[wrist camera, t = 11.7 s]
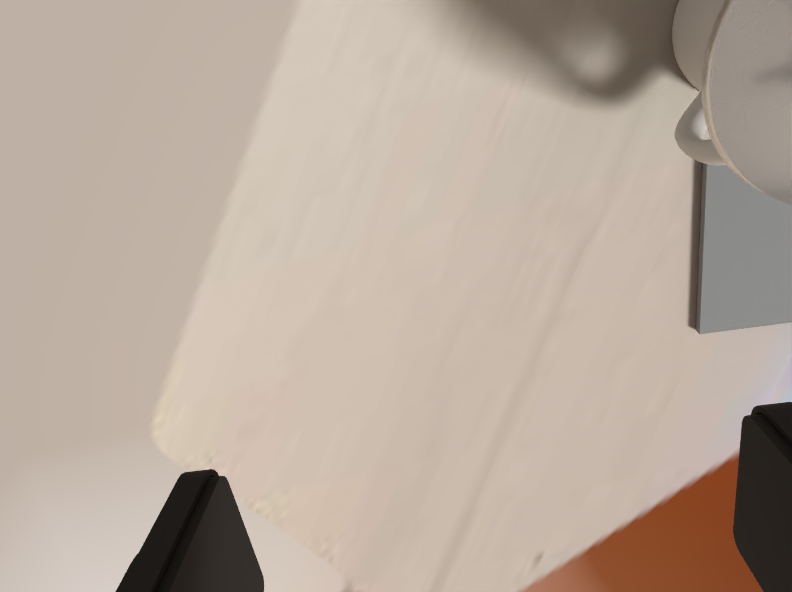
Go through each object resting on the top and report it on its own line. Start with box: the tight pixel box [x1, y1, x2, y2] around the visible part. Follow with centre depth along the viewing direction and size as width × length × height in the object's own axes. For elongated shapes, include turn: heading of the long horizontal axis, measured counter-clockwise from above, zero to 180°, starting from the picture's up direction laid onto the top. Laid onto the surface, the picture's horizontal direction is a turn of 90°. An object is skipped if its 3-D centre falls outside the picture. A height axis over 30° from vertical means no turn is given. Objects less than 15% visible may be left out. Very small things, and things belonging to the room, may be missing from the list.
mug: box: [672, 0, 726, 165], centre depth 28 cm, size 12×8×11 cm
